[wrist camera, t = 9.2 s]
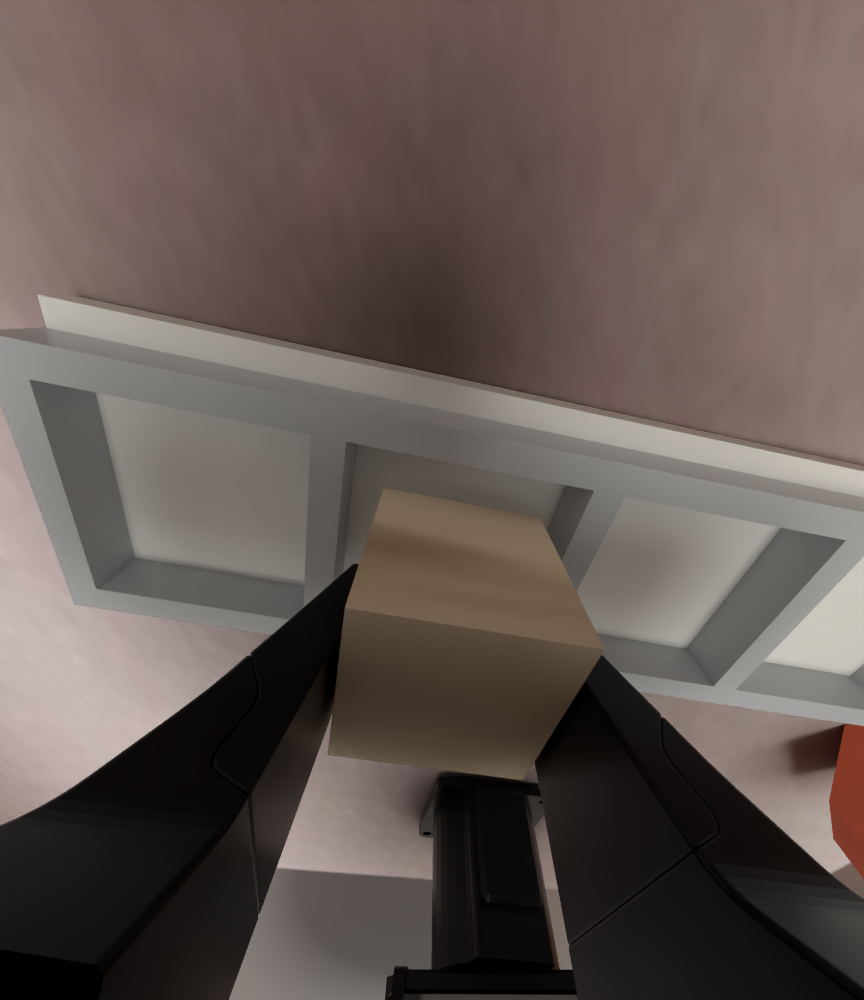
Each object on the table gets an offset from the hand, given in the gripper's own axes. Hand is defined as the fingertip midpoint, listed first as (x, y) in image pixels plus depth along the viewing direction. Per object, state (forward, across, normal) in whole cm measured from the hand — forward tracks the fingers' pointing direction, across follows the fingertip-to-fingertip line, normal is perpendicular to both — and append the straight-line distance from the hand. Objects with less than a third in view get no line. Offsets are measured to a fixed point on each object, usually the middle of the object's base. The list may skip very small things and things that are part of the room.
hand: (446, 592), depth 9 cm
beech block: (+1, 0, 0) cm, 1 cm away
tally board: (+4, -3, 0) cm, 5 cm away
